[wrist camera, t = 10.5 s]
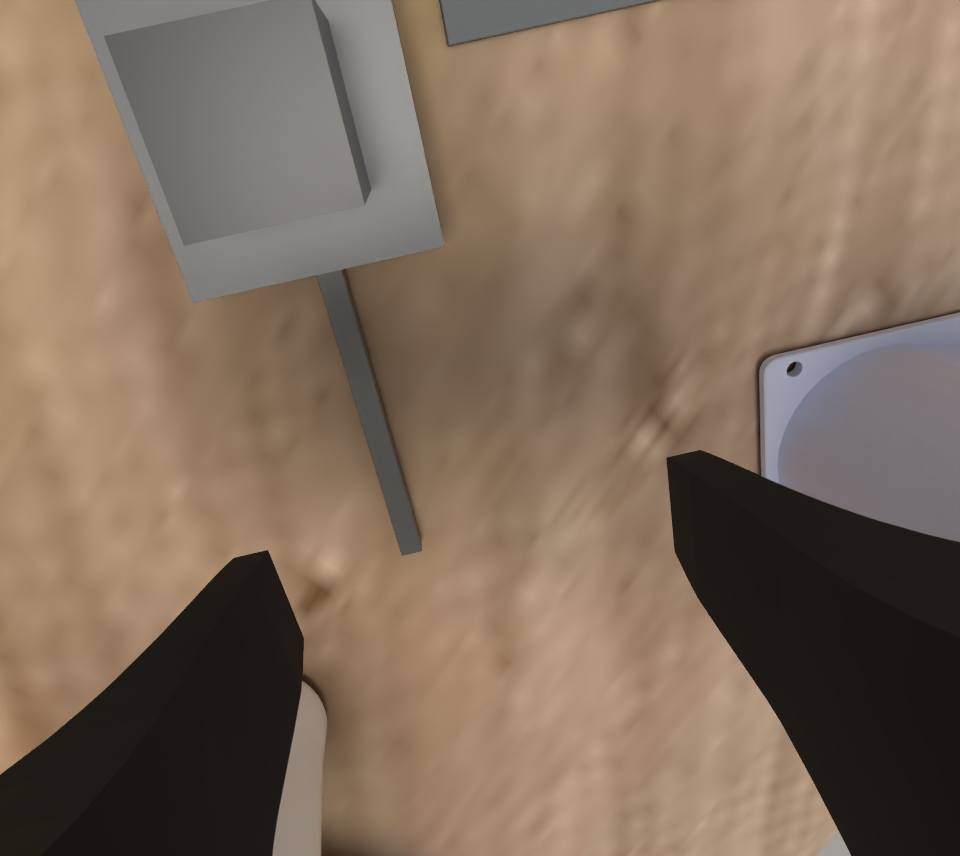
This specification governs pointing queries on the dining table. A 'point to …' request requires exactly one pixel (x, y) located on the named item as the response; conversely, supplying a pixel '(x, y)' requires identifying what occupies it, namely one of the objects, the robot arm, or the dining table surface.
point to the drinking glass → (303, 782)
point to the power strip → (317, 234)
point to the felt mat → (516, 15)
